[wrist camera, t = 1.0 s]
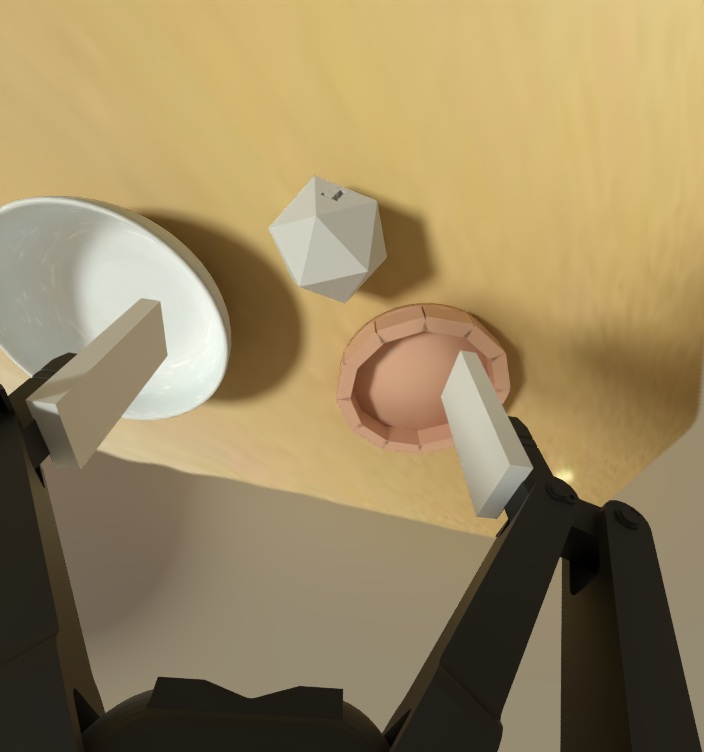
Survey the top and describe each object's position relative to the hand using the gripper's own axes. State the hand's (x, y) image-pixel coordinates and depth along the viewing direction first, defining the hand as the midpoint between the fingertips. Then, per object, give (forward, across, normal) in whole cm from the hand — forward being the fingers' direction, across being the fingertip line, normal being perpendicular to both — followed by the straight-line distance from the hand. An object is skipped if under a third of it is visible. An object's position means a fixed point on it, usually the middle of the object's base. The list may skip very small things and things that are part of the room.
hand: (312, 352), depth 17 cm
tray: (+20, +12, -14) cm, 27 cm away
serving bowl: (+21, -18, -10) cm, 29 cm away
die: (+21, 0, 0) cm, 21 cm away
